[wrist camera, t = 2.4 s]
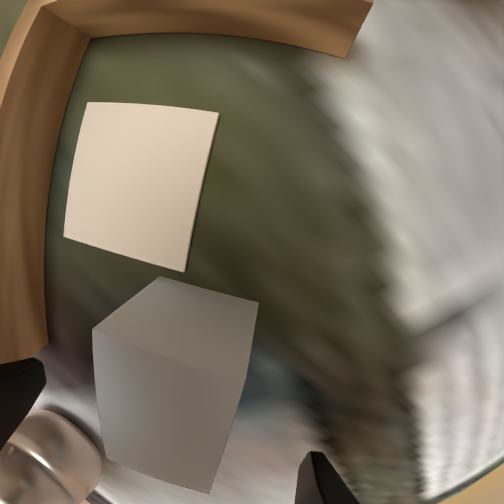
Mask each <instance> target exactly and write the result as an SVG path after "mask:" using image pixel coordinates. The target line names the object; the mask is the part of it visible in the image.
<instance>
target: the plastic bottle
mask: <svg viewBox="0 0 504 504" xmlns="http://www.w3.org/2000/svg"><path fill="white" fill-rule="evenodd" d="M101 473H102V462H101V457H100V454H99V452H98V450H97V448H96V447H95V445H94V444H93V443H92V442H91V440H90V439H89V438H88V437H87V436H86V435H85V434H84V433H83V432H82V431H81V430H80V429H79V428H77V427H76V426H75V425H74V424H73V423H71V422H70V421H68V420H67V419H66V418H64V417H62V416H61V415H59V414H57V413H55V412H53V411H50V410H34V411H32V412H30V413H28V414H27V416H26V417H25V419H24V420H23V421H22V423H21V424H20V425H19V426H18V428H17V429H16V430H15V432H14V433H13V435H12V436H11V437H10V439H9V440H8V441H7V443H6V444H5V446H4V447H3V448H2V450H1V451H0V504H80V503H81V502H82V501H83V500H84V499H85V498H86V497H87V496H88V495H89V494H90V493H91V492H92V491H93V490H94V488H95V487H96V486H97V484H98V481H99V478H100V475H101Z"/></svg>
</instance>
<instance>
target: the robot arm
mask: <svg viewBox="0 0 504 504" xmlns="http://www.w3.org/2000/svg"><path fill="white" fill-rule="evenodd" d="M45 385H46V375H45V370H44V365H43V363H42V362H41V361H39V360H38V359H36V358H33V357H32V358H27V359H22V360H18V361H13V362H8V363H3V364H0V451H1V450H2V448H3V447H4V446H5V444H6V443H7V441H8V440H9V439H10V437H11V436H12V435H13V433H14V432H15V430H16V429H17V428H18V426H19V425H20V424H21V423H22V421H23V420H24V419H25V417H26V416H27V414H28V413H29V411H30V410H31V408H32V406H33V405H34V403H35V401H36V400H37V398H38V396H39V395H40V393H41V392H42V390H43V388H44V387H45ZM294 504H360V503H359V501H358V500H357V499H356V497H355V496H354V495H353V493H352V492H351V491H350V489H349V488H348V487H347V485H346V484H345V483H344V481H343V480H342V479H341V477H340V476H339V474H338V473H337V472H336V470H335V469H334V467H333V466H332V465H331V463H330V462H329V460H328V459H327V458H326V456H325V455H324V454H323V453H322V452H316V451H310V452H308V454H307V455H306V457H305V458H304V460H303V461H302V463H301V465H300V467H299V470H298V479H297V487H296V496H295V503H294Z"/></svg>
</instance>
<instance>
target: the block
mask: <svg viewBox="0 0 504 504" xmlns="http://www.w3.org/2000/svg"><path fill="white" fill-rule="evenodd" d="M258 305H259V303H258V302H254V301H250V300H246V299H243V298H239V297H235V296H231V295H227V294H223V293H219V292H216V291H212V290H208V289H205V288H201V287H197V286H194V285H190V284H186V283H183V282H179V281H176V280H172V279H169V278H165V277H162V276H160V277H158V278H157V279H156V280H154V281H153V282H152V283H150V284H149V285H148V286H147V287H145V288H144V289H143V290H141V291H140V292H139V293H137V294H136V295H135V296H134V297H132V298H131V299H130V300H128V301H127V302H126V303H124V304H123V305H122V306H121V307H119V308H118V309H117V310H116V311H114V312H113V313H112V314H110V315H109V316H108V317H107V318H105V319H104V320H103V321H102V322H100V323H99V324H98V325H97V326H95V327H94V328H93V329H92V342H93V363H94V377H95V388H96V397H97V406H98V413H99V420H100V427H101V433H102V439H103V444H104V449H105V454H106V458H107V459H110V460H112V461H114V462H116V463H118V464H121V465H123V466H125V467H128V468H130V469H133V470H135V471H138V472H140V473H143V474H146V475H148V476H151V477H154V478H157V479H160V480H163V481H166V482H169V483H172V484H175V485H178V486H182V487H185V488H189V489H192V490H196V491H200V492H204V493H208V494H209V493H210V490H211V487H212V484H213V481H214V478H215V475H216V472H217V469H218V466H219V463H220V460H221V457H222V454H223V451H224V448H225V445H226V442H227V438H228V435H229V432H230V429H231V426H232V423H233V419H234V416H235V413H236V410H237V407H238V403H239V400H240V397H241V394H242V390H243V387H244V384H245V380H246V375H247V369H248V364H249V358H250V352H251V346H252V341H253V335H254V329H255V323H256V317H257V311H258Z"/></svg>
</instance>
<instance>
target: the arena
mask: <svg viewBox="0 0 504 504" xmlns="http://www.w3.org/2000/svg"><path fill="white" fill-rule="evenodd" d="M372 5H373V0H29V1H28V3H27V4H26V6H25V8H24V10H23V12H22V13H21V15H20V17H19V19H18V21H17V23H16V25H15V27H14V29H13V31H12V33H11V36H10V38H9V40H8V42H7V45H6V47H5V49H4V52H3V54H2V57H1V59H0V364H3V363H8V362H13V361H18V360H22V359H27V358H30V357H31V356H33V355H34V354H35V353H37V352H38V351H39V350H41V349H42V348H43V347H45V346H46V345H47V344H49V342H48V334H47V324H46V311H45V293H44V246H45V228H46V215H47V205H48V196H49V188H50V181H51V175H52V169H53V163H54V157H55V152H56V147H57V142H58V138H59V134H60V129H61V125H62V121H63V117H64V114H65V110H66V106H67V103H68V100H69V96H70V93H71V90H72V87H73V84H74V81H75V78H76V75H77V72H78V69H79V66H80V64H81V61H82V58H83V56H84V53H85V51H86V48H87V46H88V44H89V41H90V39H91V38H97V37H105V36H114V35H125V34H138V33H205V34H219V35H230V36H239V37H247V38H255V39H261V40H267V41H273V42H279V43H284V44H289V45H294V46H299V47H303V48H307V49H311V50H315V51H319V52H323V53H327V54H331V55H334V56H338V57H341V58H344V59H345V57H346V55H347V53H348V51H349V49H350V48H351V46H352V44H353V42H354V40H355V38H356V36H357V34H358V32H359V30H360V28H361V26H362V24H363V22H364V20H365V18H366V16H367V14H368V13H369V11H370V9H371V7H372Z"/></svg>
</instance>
